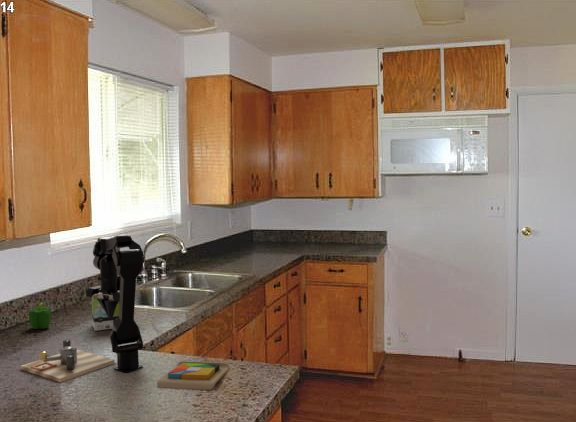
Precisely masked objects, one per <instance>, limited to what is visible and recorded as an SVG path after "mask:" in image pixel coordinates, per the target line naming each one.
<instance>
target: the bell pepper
mask: <svg viewBox="0 0 576 422" xmlns="http://www.w3.org/2000/svg"><path fill="white" fill-rule="evenodd" d="M28 311H29V312H28V318H29V323H30V326H31V327H32V329H34V330H41V329H42V330H44V329H47V328H49V327H50V325H51V320H52V310H51V308H49V307H47V306H44V302H42V301H41V302H40V303H39V305H38V306H37V307H36V308H32V309H31V308H30V309H29V310H28Z"/></svg>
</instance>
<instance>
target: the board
mask: <svg viewBox="0 0 576 422" xmlns="http://www.w3.org/2000/svg"><path fill="white" fill-rule="evenodd" d="M55 356H60V353H58V354H54V355H50V357H55ZM48 362H49V363H53V364H56V365H57V366H55V367H52V368H49V369H46V370H43V371H39V370H36V369H33V368H31V366H35V365H38V364H41V363H44V361H42V360H40V359H38V360H36V361H35V360H34V361H31V362H29V363H25V364H23V365H20V370H21V371H25V372H28V373H30V374H34V375H37V376H40V377H42V378H45V379H49V380H52V381H55V382H59V383H63V382H65V381H68V380H71V379H74V378H77V377H80V376H82V375H85V374H89V373H91V372H93V371H96V370H100V369H102V368H105V367H108V366H112V365H114V364H115V363H116V362H115V359H114V358H109V357H106V356H102V355H98V354H96V353H91V352H88V351H83V350H80V349H77V362H75V369H74V370H71V371H68V370H67V367H66V364H61V360H55V361H48ZM44 365H46V367H49V366H52V365H49V364H44ZM42 366H43V365H41V366H38V367H37V368H40V369H43V368H46V367H42Z"/></svg>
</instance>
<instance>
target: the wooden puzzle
mask: <svg viewBox="0 0 576 422" xmlns="http://www.w3.org/2000/svg"><path fill="white" fill-rule="evenodd" d="M229 370H230V365H229V363H228V362H221V361H220V362H218V361H217V362H215V361H189V360H188V361H186V360H185V361H183V360H182V361H179V362H178V363H177V364H176V365H175V367H174V368H172V369H171V370H169V371H168V372H167V373H165V374H164V375H162V376H161V377H160V378H159V379H157V382H156V385H157V387H158V388H161V389H183V390H203V391H204V390H207V391H210V390H213V389H214V388H215V386H216V384H217V383H218V382H219V381H220V380H221V379H222V378H223V377H224V376H225V374H227V372H228V371H229Z"/></svg>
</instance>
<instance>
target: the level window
mask: <svg viewBox="0 0 576 422" xmlns="http://www.w3.org/2000/svg"><path fill="white" fill-rule="evenodd" d="M44 364H49V365H52V366H49V367H46V365H44ZM41 365H43V366H42V367H46V368H43V369H40V368H37V367H38V366H41ZM55 366H57V365H56V364H53V363H49V362H44V363H41V364H38V365H35V366H31V368H33V369H36V370H39V371H43V370H46V369H49V368H52V367H55Z"/></svg>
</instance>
